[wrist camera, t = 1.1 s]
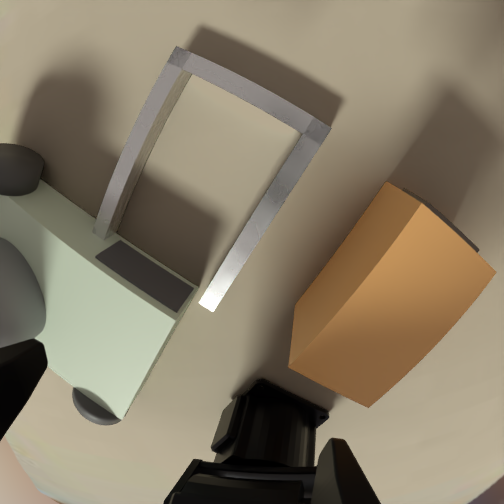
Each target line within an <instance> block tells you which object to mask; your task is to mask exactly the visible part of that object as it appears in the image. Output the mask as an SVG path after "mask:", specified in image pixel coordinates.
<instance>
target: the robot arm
mask: <svg viewBox="0 0 504 504" xmlns="http://www.w3.org/2000/svg"><path fill="white" fill-rule="evenodd" d="M47 366H48V359H47V355H46V351H45V347H44V344H43V343H42V342H40V341H38V340H37V339H34V338H32V339H28V340H25V341H22V342H18V343H15V344H12V345H8V346H5V347H2V348H0V441H1V439H2V438H3V436H4V435H5V433H6V432H7V430H8V429H9V427H10V426H11V424H12V423H13V422H14V420H15V419H16V417H17V416H18V414H19V413H20V411H21V410H22V409H23V407H24V406H25V404H26V403H27V401H28V400H29V398H30V396H31V394H32V393H33V391H34V389H35V387H36V386H37V384H38V382H39V380H40V379H41V377H42V375H43V374H44V372H45V370H46V368H47ZM259 385H262V386H259ZM321 415H324V416H321ZM328 418H329V412H328V411H327V410H325V409H323V408H321V407H319V406H316V405H314V404H312V403H310V402H308V401H306V400H304V399H302V398H300V397H298V396H296V395H294V394H292V393H290V392H288V391H286V390H284V389H282V388H280V387H278V386H276V385H274V384H272V383H270V382H268V381H266V380H264V379H258V380H256V381H255V382H254V383H253V384H252V385H251V387H250V388H249V389H248V390H247V391H246V392H245V393H244V394H243V395H237V396H236V398H235V399H234V400H233V401H232V402H231V403H230V404H229V405H228V406H227V407H226V408H225V409H224V410H223V412H222V415H221V418H220V421H219V424H218V427H217V430H216V433H215V436H214V439H213V442H212V445H211V449H212V451H213V452H215V453H216V457H215V460H214V462H206V461H202V460H199V459H193V461H192V462H191V464H190V465H189V466H188V468H187V469H186V471H185V472H184V473H183V475H182V476H181V478H180V479H179V481H178V482H177V483H176V485H175V486H174V487H173V489H172V490H171V492H170V493H169V495H168V496H167V497H166V499H165V500H164V504H381V503H380V501H379V499H378V498H377V496H376V494H375V492H374V490H373V489H372V487H371V485H370V483H369V482H368V480H367V478H366V476H365V474H364V473H363V471H362V469H361V467H360V465H359V464H358V462H357V460H356V458H355V457H354V455H353V453H352V451H351V449H350V448H349V446H348V444H347V442H346V441H345V440H344V439H338V438H331V439H329V441H328V442H327V444H326V445H325V447H324V448H323V450H322V451H321V453H320V456H319V459H318V465H317V466H314V461H315V441H316V428H318V427H319V426H320V425H321V424H323V423H324V422H325V421H326V420H328Z"/></svg>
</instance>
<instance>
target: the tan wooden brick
mask: <svg viewBox="0 0 504 504" xmlns="http://www.w3.org/2000/svg"><path fill="white" fill-rule="evenodd" d="M478 251H479V249H478V248H477V247H476V246H475V245H474V244H473V243H472V242H471V241H470V240H469V239H468V238H467V237H466V236H465V235H464V234H463V233H462V232H461V231H460V230H459V229H458V228H456V227H455V226H454V225H453V224H452V223H451V222H450V221H449V220H448V219H447V218H445V217H444V216H443V215H442V214H441V213H440V212H439V211H438V210H436V209H435V208H434V207H433V206H432V205H431V204H429V203H428V202H427V201H425V200H423V199H422V198H420V197H418V196H417V195H415V194H413V193H412V192H410V191H408V190H406V189H405V188H403V190H400V189H399V188H397V187H395V186H394V185H392V184H390V183H389V182H387V181H386V182H385V183H384V185H383V186H382V188H381V189H380V191H379V192H378V193H377V195H376V196H375V198H374V199H373V201H372V202H371V204H370V205H369V206H368V208H367V209H366V211H365V212H364V214H363V215H362V216H361V218H360V219H359V221H358V222H357V223H356V225H355V226H354V227H353V229H352V230H351V232H350V233H349V234H348V236H347V237H346V239H345V240H344V241H343V243H342V244H341V245H340V247H339V248H338V249H337V251H336V252H335V253H334V255H333V256H332V257H331V259H330V260H329V261H328V263H327V264H326V265H325V267H324V268H323V269H322V271H321V272H320V273H319V275H318V276H317V277H316V279H315V280H314V281H313V282H312V284H311V285H310V286H309V288H308V289H307V290H306V291H305V293H304V294H303V295H302V297H301V298H300V299H299V300H298V302H297V303H296V304H295V310H294V320H293V330H292V339H291V348H290V356H289V365H288V368H290V369H292V370H294V371H296V372H298V373H300V374H301V375H303V376H305V377H307V378H309V379H311V380H313V381H315V382H317V383H319V384H321V385H323V386H325V387H327V388H329V389H331V390H333V391H335V392H337V393H339V394H341V395H343V396H345V397H347V398H349V399H351V400H353V401H355V402H357V403H359V404H361V405H363V406H365V407H368V408H369V407H370V406H371V405H372V404H374V403H375V402H376V401H377V400H378V399H380V398H381V397H382V396H383V395H384V394H385V393H386V392H388V391H389V390H390V389H391V388H392V387H393V386H394V385H395V384H396V383H398V382H399V381H400V380H401V379H402V378H403V377H404V376H405V375H406V374H407V373H408V372H409V371H410V370H411V369H412V368H414V367H415V366H416V365H417V364H418V363H419V362H420V361H421V360H422V359H423V358H424V357H425V356H426V355H427V354H428V353H429V352H430V351H431V350H432V348H433V347H434V346H435V345H436V344H437V343H438V342H439V341H440V340H441V339H442V338H443V337H444V336H445V335H446V334H447V332H448V331H449V330H450V329H451V328H452V327H453V326H454V325H455V323H456V322H457V321H458V320H459V319H460V318H461V317H462V315H463V314H464V313H465V312H466V311H467V310H468V308H469V307H470V306H471V305H472V303H473V302H474V301H475V300H476V299H477V297H478V296H479V295H480V293H481V292H482V291H483V290H484V288H485V287H486V286H487V284H488V283H489V282H490V281H491V279H492V278H493V276H494V275H495V274H496V271H495V270H494V269H493V268H492V267H491V266H490V265H489V264H488V263H487V262H486V261H485V260H484V259H483V258H482V257H481V256H480V255H479V254H478Z"/></svg>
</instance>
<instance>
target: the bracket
mask: <svg viewBox="0 0 504 504" xmlns="http://www.w3.org/2000/svg"><path fill="white" fill-rule="evenodd" d="M191 74H194V75H196V76H198V77H200V78H202V79H204V80H206V81H208V82H210V83H212V84H214V85H216V86H218V87H220V88H222V89H224V90H226V91H228V92H230V93H232V94H234V95H236V96H238V97H239V98H241V99H243V100H245V101H247V102H249V103H251V104H252V105H254V106H256V107H258V108H260V109H261V110H263V111H265V112H267V113H268V114H270V115H272V116H274V117H275V118H277V119H279V120H280V121H282V122H284V123H286V124H287V125H289V126H291V127H292V128H294V129H295V130H297V131H299V132H300V133H302V134H303V135H302V136H301V138H300V139H299V141H298V143H297V144H296V146H295V147H294V149H293V150H292V152H291V154H290V155H289V157H288V158H287V160H286V162H285V163H284V165H283V166H282V168H281V169H280V171H279V173H278V174H277V176H276V177H275V179H274V181H273V182H272V184H271V185H270V187H269V189H268V190H267V192H266V193H265V195H264V197H263V198H262V200H261V201H260V203H259V205H258V206H257V208H256V210H255V211H254V213H253V214H252V216H251V218H250V219H249V221H248V222H247V224H246V226H245V227H244V229H243V231H242V232H241V234H240V235H239V237H238V239H237V240H236V242H235V244H234V245H233V247H232V249H231V250H230V252H229V253H228V255H227V257H226V258H225V260H224V262H223V263H222V265H221V267H220V268H219V270H218V272H217V273H216V275H215V277H214V278H213V280H212V281H211V283H210V285H209V286H208V288H207V290H206V291H205V293H204V295H203V296H202V298H201V300H200V301H199V304H201V305H202V306H204V307H206V308H207V309H209V310H210V311H212V312H213V311H214V310H215V308H216V307H217V305H218V304H219V302H220V301H221V299H222V298H223V296H224V294H225V293H226V291H227V290H228V288H229V287H230V285H231V284H232V282H233V281H234V279H235V277H236V276H237V274H238V273H239V271H240V270H241V268H242V267H243V265H244V263H245V262H246V260H247V259H248V257H249V256H250V254H251V253H252V251H253V250H254V248H255V246H256V245H257V243H258V242H259V240H260V239H261V237H262V236H263V234H264V233H265V231H266V229H267V228H268V226H269V225H270V223H271V222H272V220H273V219H274V217H275V215H276V214H277V212H278V211H279V209H280V208H281V206H282V205H283V203H284V202H285V200H286V198H287V197H288V195H289V194H290V192H291V191H292V189H293V188H294V186H295V185H296V183H297V181H298V180H299V178H300V177H301V175H302V174H303V172H304V171H305V169H306V167H307V166H308V164H309V163H310V161H311V160H312V158H313V157H314V155H315V154H316V152H317V150H318V149H319V147H320V146H321V144H322V143H323V141H324V140H325V138H326V137H327V135H328V133H329V132H330V130H331V129H332V128H331V127H329V126H328V125H326V124H324V123H323V122H321V121H320V120H318V119H316V118H315V117H313V116H312V115H310V114H308V113H307V112H305V111H303V110H302V109H300V108H298V107H297V106H295V105H293V104H292V103H290V102H288V101H286V100H285V99H283V98H281V97H279V96H278V95H276V94H274V93H272V92H271V91H269V90H267V89H265V88H263V87H261V86H259V85H258V84H256V83H254V82H252V81H250V80H248V79H246V78H244V77H242V76H240V75H238V74H236V73H234V72H232V71H230V70H228V69H226V68H224V67H222V66H220V65H218V64H216V63H214V62H211V61H209V60H207V59H205V58H203V57H200V56H198V55H196V54H194V53H191V52H189V51H187V50H184V49H182V48H180V47H177V46H176V47H175V49H174V51H173V52H172V54H171V56H170V58H169V59H168V61H167V63H166V65H165V66H164V68H163V70H162V72H161V74H160V75H159V77H158V79H157V81H156V83H155V85H154V86H153V88H152V90H151V92H150V94H149V96H148V98H147V100H146V102H145V104H144V106H143V108H142V110H141V112H140V114H139V116H138V118H137V120H136V122H135V125H134V127H133V129H132V131H131V133H130V135H129V138H128V140H127V142H126V144H125V147H124V149H123V151H122V154H121V156H120V158H119V161H118V163H117V165H116V168H115V170H114V173H113V175H112V178H111V180H110V183H109V185H108V188H107V191H106V193H105V196H104V199H103V201H102V204H101V207H100V210H99V213H98V216H97V218H96V221H95V224H94V227H93V230H92V232H93V233H94V234H95V235H97V236H98V237H100V238H101V239H102V240H105V239H107V238H109V237H110V236H112V235H114V234H116V232H117V230H118V227H119V224H120V222H121V219H122V217H123V214H124V212H125V209H126V207H127V204H128V202H129V200H130V197H131V195H132V192H133V190H134V188H135V185H136V183H137V181H138V179H139V176H140V174H141V172H142V170H143V167H144V165H145V163H146V161H147V159H148V157H149V154H150V152H151V150H152V148H153V146H154V144H155V142H156V140H157V138H158V136H159V134H160V132H161V130H162V128H163V126H164V124H165V122H166V120H167V118H168V116H169V114H170V112H171V110H172V109H173V107H174V105H175V103H176V101H177V99H178V97H179V96H180V94H181V92H182V90H183V88H184V87H185V85H186V83H187V81H188V80H189V78H190V76H191Z"/></svg>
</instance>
